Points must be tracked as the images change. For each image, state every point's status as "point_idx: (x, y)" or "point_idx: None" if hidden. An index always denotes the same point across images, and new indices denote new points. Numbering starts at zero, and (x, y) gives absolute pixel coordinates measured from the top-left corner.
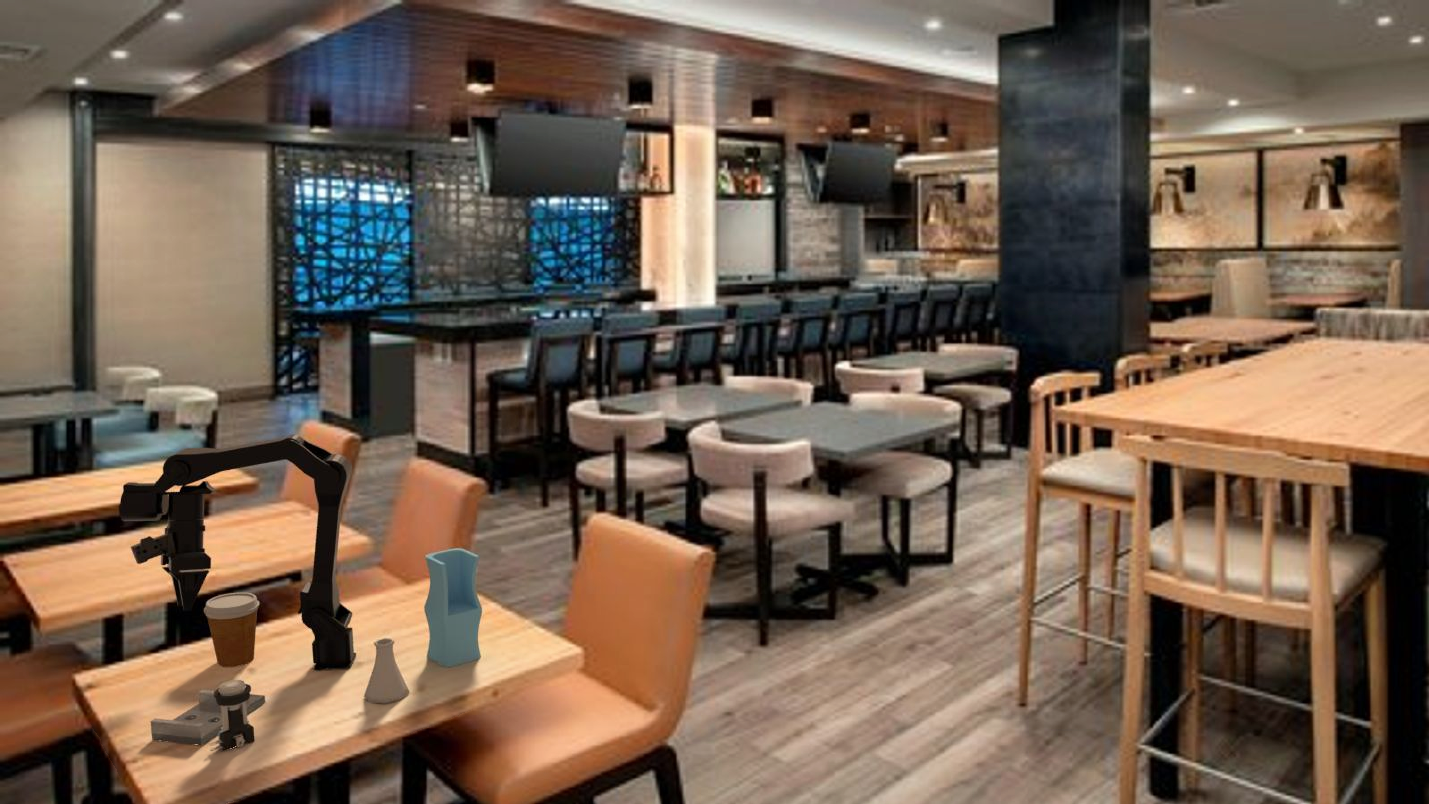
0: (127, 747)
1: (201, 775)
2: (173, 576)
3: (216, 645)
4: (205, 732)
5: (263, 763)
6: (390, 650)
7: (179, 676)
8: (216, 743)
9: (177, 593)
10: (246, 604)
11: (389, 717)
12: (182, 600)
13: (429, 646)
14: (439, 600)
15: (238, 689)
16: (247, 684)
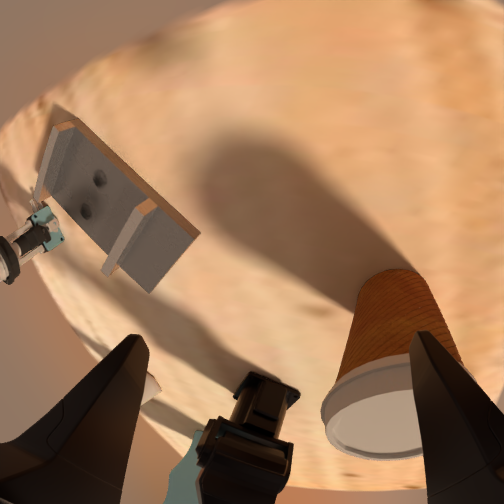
0: (70, 85)
1: (12, 182)
2: (487, 477)
3: (386, 300)
4: (57, 196)
5: None
6: None
7: (383, 180)
8: (32, 206)
9: (439, 386)
10: (330, 442)
11: (95, 354)
12: (94, 368)
13: None
14: (178, 492)
15: None
16: (10, 283)
